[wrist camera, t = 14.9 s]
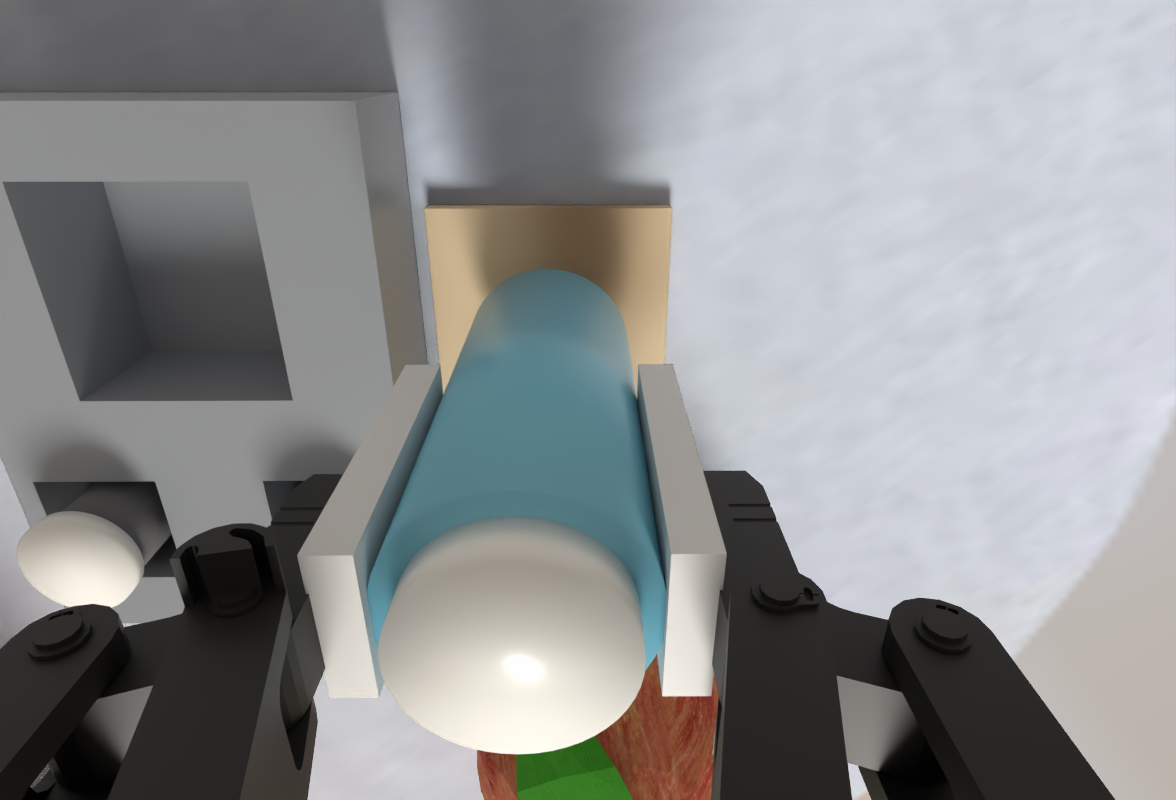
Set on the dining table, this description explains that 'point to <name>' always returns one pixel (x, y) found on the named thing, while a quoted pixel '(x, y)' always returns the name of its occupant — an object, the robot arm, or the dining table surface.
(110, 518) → the plunger
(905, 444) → the dining table surface
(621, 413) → the cartridge
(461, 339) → the coaster
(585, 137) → the dining table surface
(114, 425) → the housing
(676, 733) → the fruit
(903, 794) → the robot arm
